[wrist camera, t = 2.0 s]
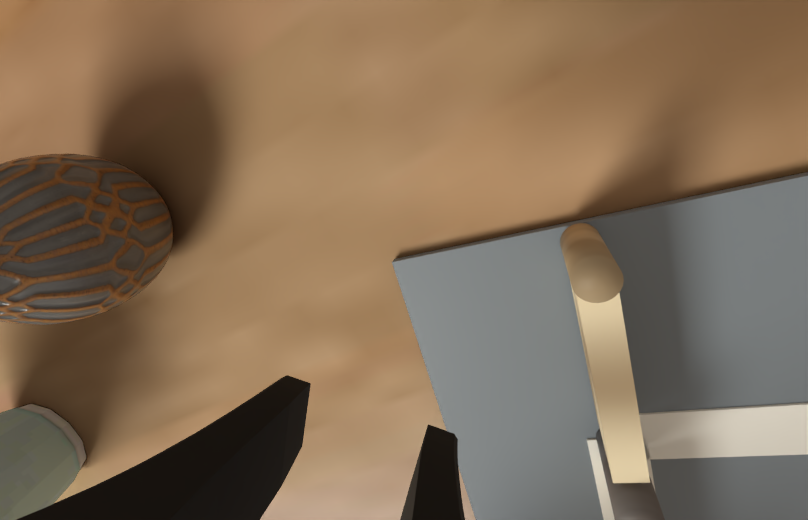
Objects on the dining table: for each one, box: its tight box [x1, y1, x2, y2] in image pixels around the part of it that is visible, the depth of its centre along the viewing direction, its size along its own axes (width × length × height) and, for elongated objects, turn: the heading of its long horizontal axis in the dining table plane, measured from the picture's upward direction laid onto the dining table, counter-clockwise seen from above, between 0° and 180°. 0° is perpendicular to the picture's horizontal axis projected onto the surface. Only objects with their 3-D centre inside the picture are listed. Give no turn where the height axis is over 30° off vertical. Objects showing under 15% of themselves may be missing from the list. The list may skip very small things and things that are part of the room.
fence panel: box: [560, 223, 650, 483], centre depth 15 cm, size 9×1×4 cm, turn 17°
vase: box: [0, 154, 173, 325], centre depth 17 cm, size 7×7×9 cm
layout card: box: [392, 172, 808, 520], centre depth 18 cm, size 18×19×1 cm
